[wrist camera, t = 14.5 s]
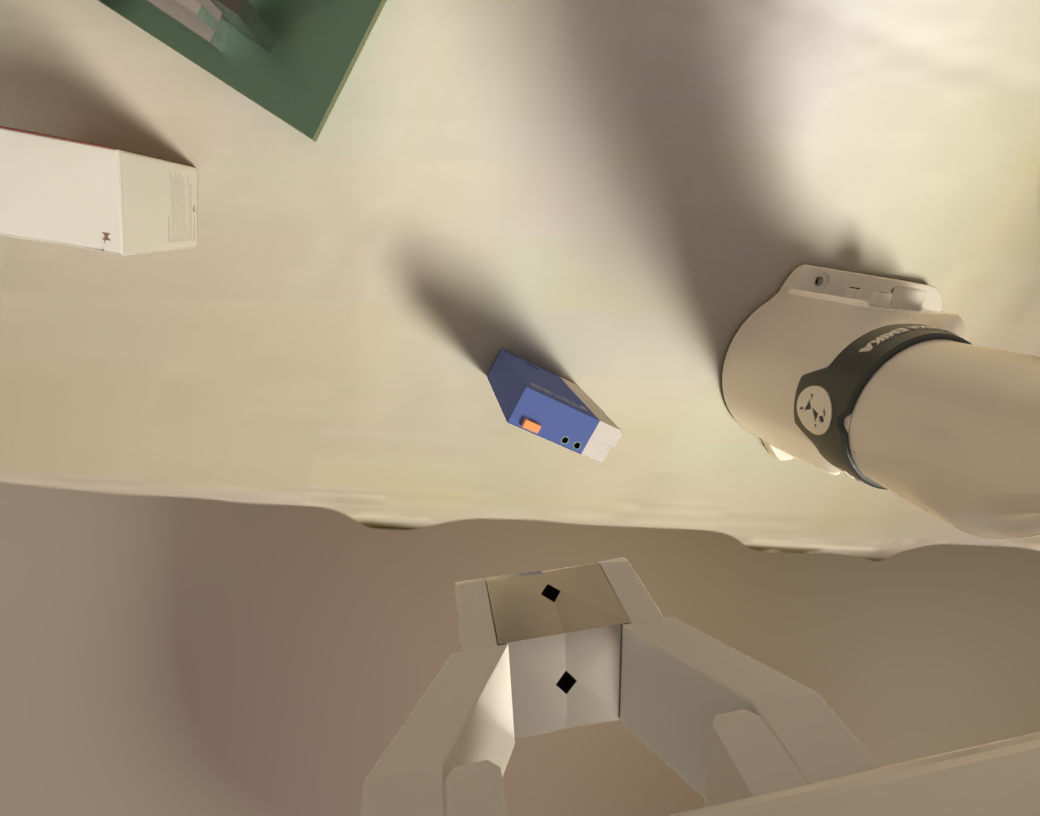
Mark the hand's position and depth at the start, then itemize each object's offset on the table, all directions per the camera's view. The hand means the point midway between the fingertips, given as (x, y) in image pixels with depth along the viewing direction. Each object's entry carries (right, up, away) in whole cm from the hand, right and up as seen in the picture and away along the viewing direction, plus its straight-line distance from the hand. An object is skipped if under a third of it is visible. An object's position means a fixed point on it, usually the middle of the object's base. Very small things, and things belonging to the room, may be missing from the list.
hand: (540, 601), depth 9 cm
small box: (-27, +18, +29) cm, 44 cm away
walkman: (+1, +6, +38) cm, 39 cm away
